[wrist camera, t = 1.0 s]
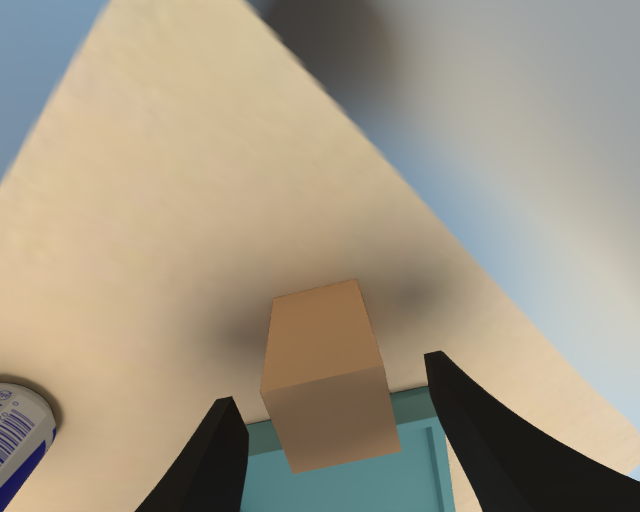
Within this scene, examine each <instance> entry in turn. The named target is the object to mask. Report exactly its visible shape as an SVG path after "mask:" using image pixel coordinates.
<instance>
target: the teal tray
mask: <svg viewBox="0 0 640 512" xmlns="http://www.w3.org/2000/svg"><path fill="white" fill-rule="evenodd" d="M390 398H391V403H392V408H393V412H394V417H395V422H396V427H397V432H398V436H399V441H400V446H401V451H402V452H397V453H392V454H387V455H382V456H378V457H373V458H368V459H363V460H359V461H354V462H349V463H344V464H340V465H335V466H330V467H325V468H320V469H316V470H311V471H306V472H301V473H297V474H293V473H292V471H291V468H290V466H289V463H288V461H287V458H286V456H285V453H284V451H283V448H282V446H281V443H280V441H279V438H278V436H277V433H276V431H275V428H274V426H273V423H272V421H271V420H269V421H264V422H260V423H255V424H250V425H246V428H247V430H248V433H249V453H248V465H247V472H246V478H245V484H244V490H243V495H242V501H241V507H240V512H455V506H454V498H453V491H452V483H451V476H450V469H449V461H448V454H447V446H446V439H445V432H444V430H443V428H442V426H441V424H440V421H439V419H438V416H437V414H436V411H435V408H434V405H433V403H432V400H431V397H430V393H429V386H426V387H421V388H417V389H412V390H407V391H403V392H398V393H394V394H390Z"/></svg>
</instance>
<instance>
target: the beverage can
mask: <svg viewBox="0 0 640 512" xmlns="http://www.w3.org/2000/svg"><path fill="white" fill-rule="evenodd" d="M55 435H56V423H55V420H54V417H53V413H52V410H51V408H50V406H49V404H48V403H47V402H46V401H45V400H44V399H43V398H42V397H41V396H40V395H39V394H37V393H36V392H34V391H32V390H30V389H28V388H26V387H23V386H20V385H16V384H11V383H0V512H3V511H4V509H5V508H6V507H7V505H8V504H9V503H10V501H11V500H12V499H13V497H14V496H15V494H16V493H17V492H18V490H19V489H20V488H21V486H22V485H23V484H24V482H25V481H26V480H27V478H28V477H29V475H30V474H31V473H32V471H33V470H34V469H35V467H36V466H37V465H38V463H39V462H40V460H41V459H42V458H43V456H44V455H45V454H46V452H47V451H48V449H49V448H50V446H51V445H52V443H53V441H54V439H55Z"/></svg>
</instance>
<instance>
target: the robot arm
mask: <svg viewBox="0 0 640 512" xmlns="http://www.w3.org/2000/svg"><path fill="white" fill-rule="evenodd" d="M424 359H425V366H426V373H427V379H428V386H429V393H430V397H431V400H432V403H433V405H434V408H435V411H436V414H437V416H438V419H439V421H440V424H441V426H442V428H443V430H444V432H445V434H446V436H447V438H448V440H449V442H450V444H451V446H452V448H453V450H454V452H455V454H456V456H457V458H458V460H459V462H460V464H461V466H462V468H463V470H464V472H465V474H466V476H467V478H468V480H469V482H470V484H471V486H472V488H473V490H474V492H475V494H476V497H477V499H478V501H479V503H480V506H481V508H482V511H483V512H640V482H639V481H637V480H634V479H632V478H630V477H628V476H625V475H623V474H621V473H619V472H616V471H614V470H612V469H610V468H608V467H606V466H604V465H602V464H600V463H598V462H596V461H594V460H592V459H590V458H588V457H586V456H585V455H583V454H581V453H579V452H577V451H576V450H574V449H572V448H570V447H568V446H566V445H565V444H563V443H561V442H559V441H557V440H556V439H554V438H552V437H551V436H549V435H548V434H546V433H544V432H543V431H541V430H539V429H538V428H536V427H535V426H533V425H532V424H530V423H529V422H527V421H526V420H524V419H523V418H521V417H520V416H518V415H517V414H516V413H514V412H513V411H511V410H510V409H509V408H507V407H506V406H505V405H503V404H502V403H501V402H499V401H498V400H497V399H495V398H494V397H493V396H492V395H490V394H489V393H488V392H487V391H485V390H484V389H483V388H482V387H481V386H479V385H478V384H477V383H476V382H475V381H474V380H472V379H471V378H470V377H469V376H468V375H467V374H466V373H465V372H463V371H462V370H461V369H460V368H459V367H458V366H457V365H456V364H455V363H454V362H453V361H452V360H451V359H450V358H449V357H448V356H447V355H446V354H445V353H444V352H442V351H441V350H440V351H436V352H431V353H427V354H424ZM248 453H249V433H248V430H247V428H246V426H245V424H244V422H243V419H242V417H241V415H240V413H239V410H238V408H237V406H236V404H235V402H234V399H233V397H232V396H230V397H226V398H221V399H217V400H216V401H215V402H214V404H213V405H212V407H211V408H210V410H209V411H208V413H207V414H206V416H205V417H204V419H203V420H202V422H201V423H200V425H199V426H198V428H197V430H196V431H195V433H194V434H193V436H192V437H191V438H190V440H189V441H188V443H187V444H186V446H185V447H184V449H183V450H182V452H181V453H180V455H179V456H178V457H177V459H176V460H175V461H174V463H173V464H172V465H171V467H170V468H169V469H168V471H167V472H166V474H165V475H164V476H163V478H162V479H161V480H160V481H159V483H158V484H157V485H156V487H155V488H154V489H153V490H152V491H151V493H150V494H149V495H148V496H147V497H146V499H145V500H144V501H143V502H142V503H141V505H140V506H139V507H138V508H137V509H136V510H135V511H134V512H240V507H241V501H242V495H243V490H244V484H245V478H246V472H247V465H248Z"/></svg>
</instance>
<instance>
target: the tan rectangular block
mask: <svg viewBox="0 0 640 512" xmlns="http://www.w3.org/2000/svg"><path fill="white" fill-rule="evenodd" d="M260 394H261V396H262V399H263V401H264V404H265V406H266V409H267V411H268V413H269V416H270V418H271V421H272V423H273V426H274V428H275V431H276V433H277V436H278V438H279V441H280V443H281V446H282V448H283V451H284V453H285V456H286V458H287V461H288V463H289V466H290V468H291V471H292V473H293V474H297V473H301V472H306V471H311V470H316V469H320V468H325V467H330V466H335V465H340V464H344V463H349V462H354V461H359V460H363V459H368V458H373V457H378V456H382V455H387V454H392V453H397V452H402V451H401V446H400V441H399V436H398V432H397V427H396V422H395V417H394V412H393V408H392V403H391V398H390V393H389V389H388V384H387V379H386V374H385V370H384V365H383V362H382V359H381V355H380V352H379V349H378V346H377V343H376V340H375V337H374V333H373V330H372V327H371V324H370V321H369V318H368V314H367V311H366V308H365V305H364V302H363V299H362V296H361V292H360V289H359V286H358V283H357V280H356V279H353V280H349V281H344V282H340V283H336V284H332V285H327V286H323V287H319V288H314V289H310V290H306V291H302V292H297V293H293V294H289V295H285V296H280V297H276V298H274V299H273V306H272V313H271V319H270V326H269V333H268V340H267V347H266V354H265V361H264V368H263V375H262V382H261V389H260Z"/></svg>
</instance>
